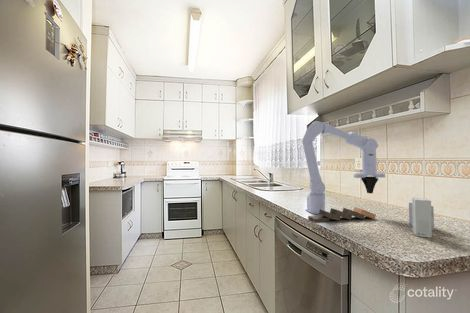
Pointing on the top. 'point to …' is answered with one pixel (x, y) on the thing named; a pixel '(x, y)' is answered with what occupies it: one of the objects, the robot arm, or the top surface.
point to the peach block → (365, 212)
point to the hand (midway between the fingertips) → (369, 193)
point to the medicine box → (412, 217)
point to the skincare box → (421, 217)
